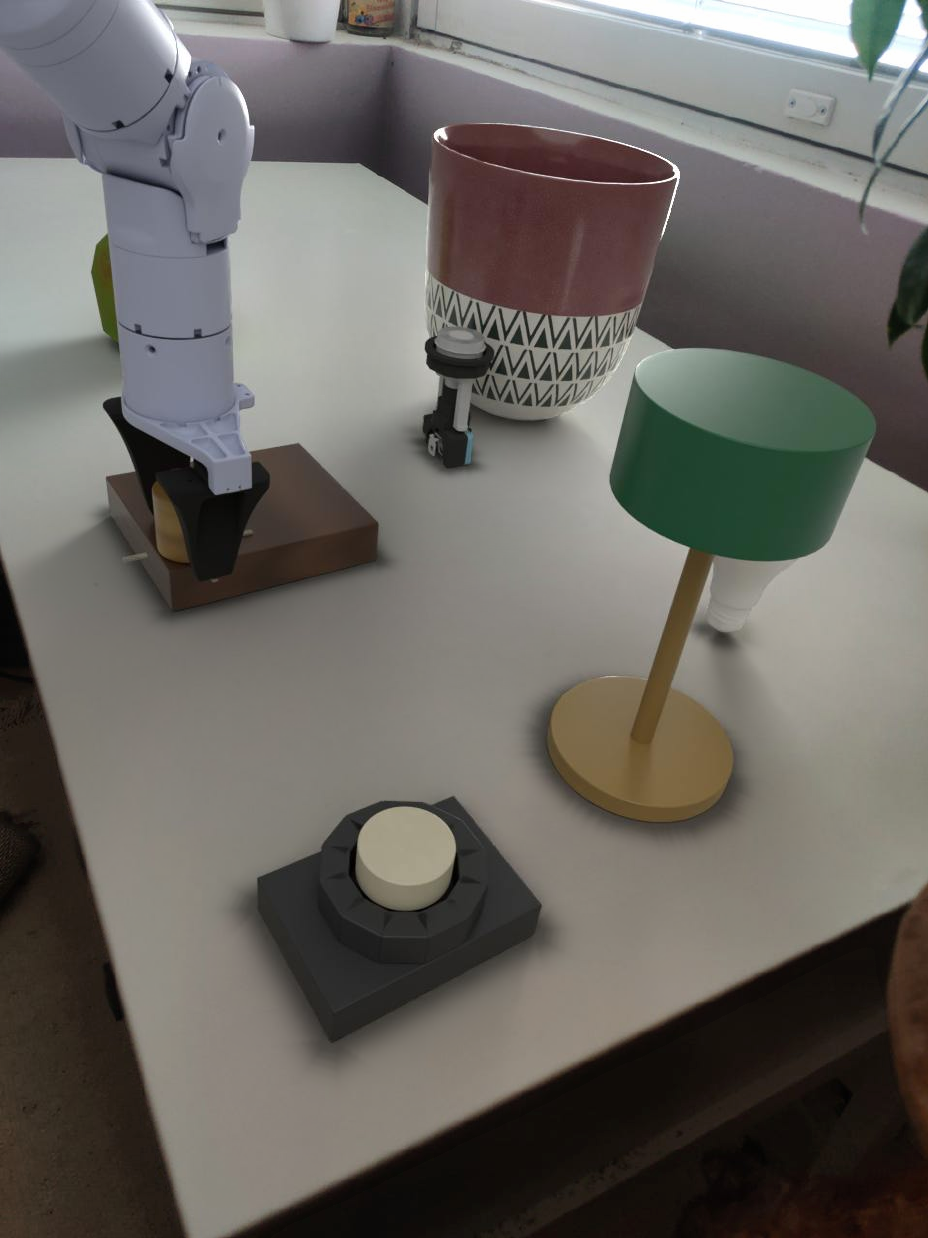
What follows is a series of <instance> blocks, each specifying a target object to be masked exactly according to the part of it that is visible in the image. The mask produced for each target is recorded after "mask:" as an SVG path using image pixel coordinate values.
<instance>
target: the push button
mask: <svg viewBox="0 0 928 1238" xmlns="http://www.w3.org/2000/svg"><path fill="white" fill-rule="evenodd" d="M484 340H485V337H484V336H483V335H482V333H480V332H478V331H476V330H474V329H470V328H466V327H457V326H450V327H445V328H441V329H440V330H439V332H438V336H434V337H431V338H429V337H428V339H427V340H425V342H424V352H425V353H426V361H425V364H426V366H427V367H428V369H429V370H430V371H433V372H435V375H437V376H439V379H438V380H439V381H438V390H437V398H436V405H435V409H433V410H432V411H431V412H432V413H426V414H424V415H422V416H421V419H422V425H421V426H420V429H421V430H422V433H423V435H424V437H425V438H424V441H425V444H426V445H427V451H428V453H429V455H431V456H432V457H435V456H436V455H437V456H438V457H439V458H440V459H441V463H442V465H443V466H444V467H445V468H454V467H459V466H466V465H471V462H472V452H473V446H474V445H473V444H474V435H473V433H472V432H473V429H472V428H471V419H472V413H471V412H470V407H471V403H470V399H471V392H472V384H473V382H474V381H475V380H476V379H477V378H479V377H482V376H485V374H486V372H487V371H488V369H489V364H490V362H491V361H492V360H493V358H494V349H493V348H492V347H491V346H490V345H489V344H487V343H485V342H484Z"/></svg>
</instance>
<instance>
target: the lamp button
mask: <svg viewBox="0 0 928 1238" xmlns="http://www.w3.org/2000/svg"><path fill="white" fill-rule="evenodd" d="M455 854H456V843H455V839H454V836H453V834H452V832H451V830H450V829H449V827H448V826H447V825H446V824H445V822H444V821H442V820H441V819H440V818H439V817H437V816H436V815H434V814H432V813H431V812H428V811H426V810H423V809H420V808H415V807H394V808H389V809H386V810H383V811H381V812H379V813H377V814H376V815H374V816H373V817H371V818H370V819H369V820H368V821H367V822H366V823H365V824H364V826H363V827H362V829H361V831H360V833H359V837H358V842H357V854H356V866H355V872H356V878H357V881H358V884H359V885H360V887H361V889H362V890H363V892H364V893H365V894H366V895H367V896H368V897H369V898H370V899H371V900H372V901H374V902H375V903H377V904H379V905H381V906H383V907H385V908H388V909H392V910H397V911H413V910H419V909H422V908H425V907H427V906H429V905H431V904H433V903H435V902H436V901H437V900H439V899H440V898H441V897H442V896H443V894H444V893H445V892H446V890H447V889H448V887H449V884H450V881H451V876H452V871H453V865H454V859H455Z"/></svg>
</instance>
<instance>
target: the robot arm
mask: <svg viewBox="0 0 928 1238" xmlns="http://www.w3.org/2000/svg"><path fill="white" fill-rule="evenodd" d="M0 50H1V51H2V52H3V53H4V54H5V55H6V56H7V57H8V58H9V59H10V60H11V61H12V62H13V63H14V64H15V66H17V67H19V69H20V70H21V71H22V72H23V74H25V75H26V76H27V78H29V79H30V80H31V81H32V82H33V83H34V84H35V85H36V86H37V87H38V88H39V89H40V90H41V91H42V92H43V93H44V94H45V95H46V96H47V97H48V98H49V99H50V100H51V102H52V103H53V104H54V105H55V106H56V107H57V110H59V112H60V114H61V117H62V122H63V125H64V131H65V135H66V138H67V141H68V143H69V146H70V148H71V150H72V153H73V154H74V156H75V158H76V160H77V161H78V162H79V164H82V165H84V166H88V167H89V168H90V169H92V170H93V171H94V172H97V173H99V174H101V181H102V191H103V199H104V210H105V211H104V212H105V219H106V229H107V233H108V240H109V250H110V259H111V269H112V279H113V289H114V298H115V308H116V317H117V327H118V337H119V343H118V347H119V358H120V366H121V377H122V384H121V385H122V386H121V395H120V396H115V397H111V398H107V399H106V400H104V401H103V402H102V409H103V410H104V412H105V413H106V414H107V416H108V417H109V419H110V420H111V421H112V424H113V425H114V426H115V428H116V429H117V431H118V434H119V435H120V437H121V439H122V441H123V443H124V446H125V447H126V450H127V452H128V455H129V457H130V460H131V462H132V465H133V468H134V472H136V475H137V478H138V481H139V484H140V487H141V490H142V493H143V496H144V499H145V501H146V504H147V506H148V508H149V510H150V512H151V513H152V515H153V516H154V509H153V498H152V487H153V485H154V483H155V482H156V481H157V482H158V483H159V484H160V486H161V487H162V488H163V490H164V491H165V493H166V494H167V496H168V498H169V499H170V501H171V503H172V505H173V507H174V509H175V512H176V514H177V516H178V519H179V522H180V525H181V528H182V532H183V536H184V541H185V546H186V550H187V555H188V559H189V562H190V565H191V568H192V570H193V572H194V574H195V576H196V578H197V579H198V580H199V581H205V580H209V579H213V578H218V577H222V576H226V575H230V574H232V572H233V569H234V566H235V563H236V559H237V555H238V552H239V548H240V544H241V540H242V537H243V534H244V531H245V528H246V525H247V523H248V520H249V518H250V516H251V514H252V512H253V510H254V508H255V507H256V505H257V504H258V502H259V501H260V499H261V498H262V496H263V495H264V494H265V493H266V491H267V490H268V489H269V485H270V474H269V472H268V471H267V470H266V469H265V468H264V467H263V466H262V464H261V463H260V462H259V461H257V462H252V460H251V454H250V453H249V452H250V451H249V450H248V449H247V447H246V446H245V443H244V439H243V432H242V422H241V414H240V411H242V410H246V409H251V408H253V407H254V406H255V405H256V403H255V400H256V399H255V393H254V392H253V391H252V390H250V389H249V388H248V386H247V385H245V384H244V383H240V382H235V375H234V374H235V372H234V371H235V370H234V367H235V366H234V339H233V337H234V335H233V300H232V299H233V298H232V294H233V293H232V265H231V264H232V262H231V235H232V234H235V233H236V232H237V230H238V228H239V227H238V226H239V225H238V222H239V221H240V220H241V219H242V213H241V212H242V211H241V210H242V209H241V208H242V207H241V206H242V205H241V203H242V202H241V200H242V199H241V198H242V190H243V187H244V186H243V185H244V182H245V179H246V177H247V174H248V172H249V168H250V165H251V161H252V157H253V153H254V152H253V151H254V145H255V125H253V124H250V116H249V111H248V107H247V104H246V100H245V98H244V96H243V94H242V92H241V90H240V88H239V87H238V85H237V84H235V82H234V81H232V80H231V79H230V76H229V75H228V74H227V73H226V72H225V70H224V69H223V67H221V66H220V65H218V64H217V62H214V61H211V60H206V59H202V58H199V57H193V56H191V54H190V52H189V50H188V49H187V48H186V46H185V45H184V43H183V41H182V40H181V39H180V38H179V36H178V35H177V34H176V32H175V30H174V25H173V22H172V21H171V20H170V18H169V17H168V15H167V14H166V13H165V11H164V10H163V9H162V8H158V7H157V6H156V4H155V3H154V2H153V0H0ZM191 459H192V461H193V466H194V468H192V467H190V462H191ZM177 468H180V469H177ZM172 469H174V470H172Z"/></svg>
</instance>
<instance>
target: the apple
mask: <svg viewBox="0 0 928 1238" xmlns="http://www.w3.org/2000/svg"><path fill="white" fill-rule="evenodd" d="M90 269H91V270H90V275H91V279H92V283H93V284H92V285H93V289H94V294H95V298H96V304H97V309H98V313H99V317H100V323H101V327H102V331H103V332H104V333H105V334H106V335H107V336H108V337H109V338H110V339H112V340H113V341H115V342H117V343H118V344H119V337H118V327H117V317H116V308H115V298H114V289H113V279H112V269H111V259H110V250H109V240H108V232H106V234H104V236H103V237H102V238H101V239H100V240H99V241H98V242H97V243H96V244H95V249H94V255H93V259H92V265H91V268H90Z"/></svg>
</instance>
